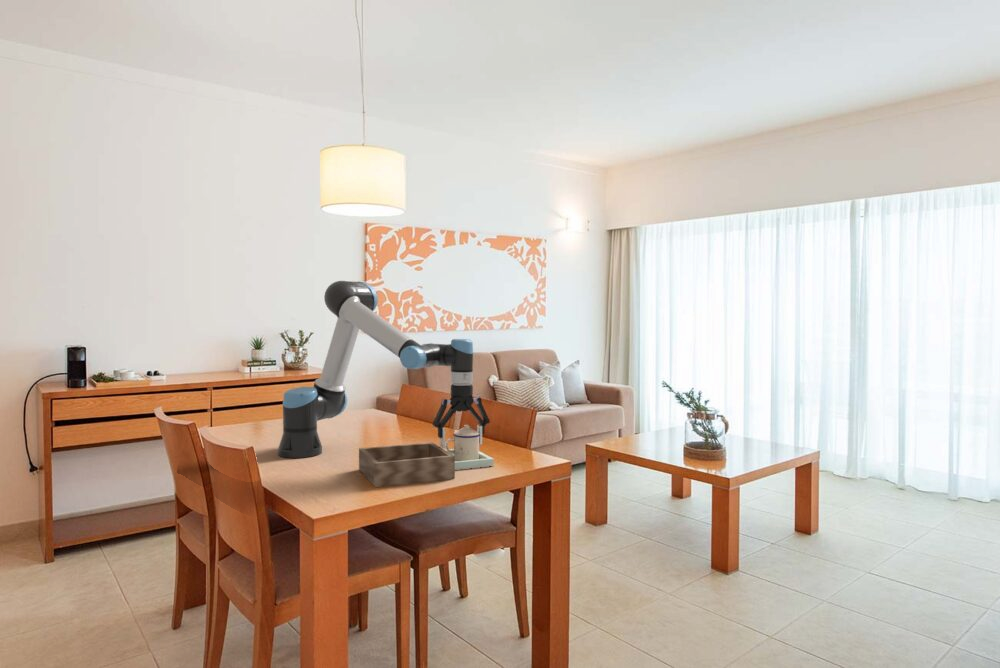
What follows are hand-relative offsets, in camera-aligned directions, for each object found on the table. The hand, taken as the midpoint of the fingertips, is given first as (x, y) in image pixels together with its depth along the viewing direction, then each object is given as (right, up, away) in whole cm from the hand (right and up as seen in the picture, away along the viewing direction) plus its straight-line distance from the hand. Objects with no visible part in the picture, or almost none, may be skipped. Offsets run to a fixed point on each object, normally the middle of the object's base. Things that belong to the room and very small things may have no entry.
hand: (461, 445), depth 217 cm
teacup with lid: (0, -5, 0) cm, 5 cm away
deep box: (-17, -6, -16) cm, 24 cm away
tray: (0, -6, 0) cm, 6 cm away
